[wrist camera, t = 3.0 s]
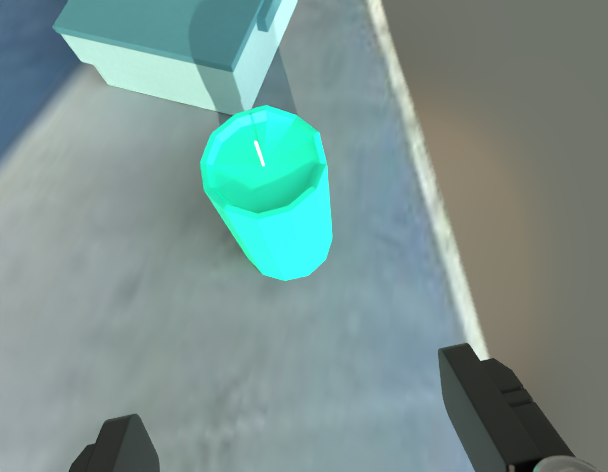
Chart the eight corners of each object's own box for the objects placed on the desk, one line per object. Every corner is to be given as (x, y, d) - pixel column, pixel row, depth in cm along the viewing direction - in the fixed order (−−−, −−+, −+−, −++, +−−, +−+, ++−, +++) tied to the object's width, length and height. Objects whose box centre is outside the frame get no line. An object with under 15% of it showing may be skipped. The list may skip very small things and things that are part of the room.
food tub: (93, 87, 37) (44, 24, 31) (160, -32, 41) (128, -108, 35) (258, 128, 35) (240, 68, 29) (313, -3, 39) (307, -80, 33)
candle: (301, 297, 30) (275, 231, 19) (226, 252, 31) (160, 165, 20) (349, 222, 31) (350, 119, 20) (275, 182, 33) (239, 65, 22)
